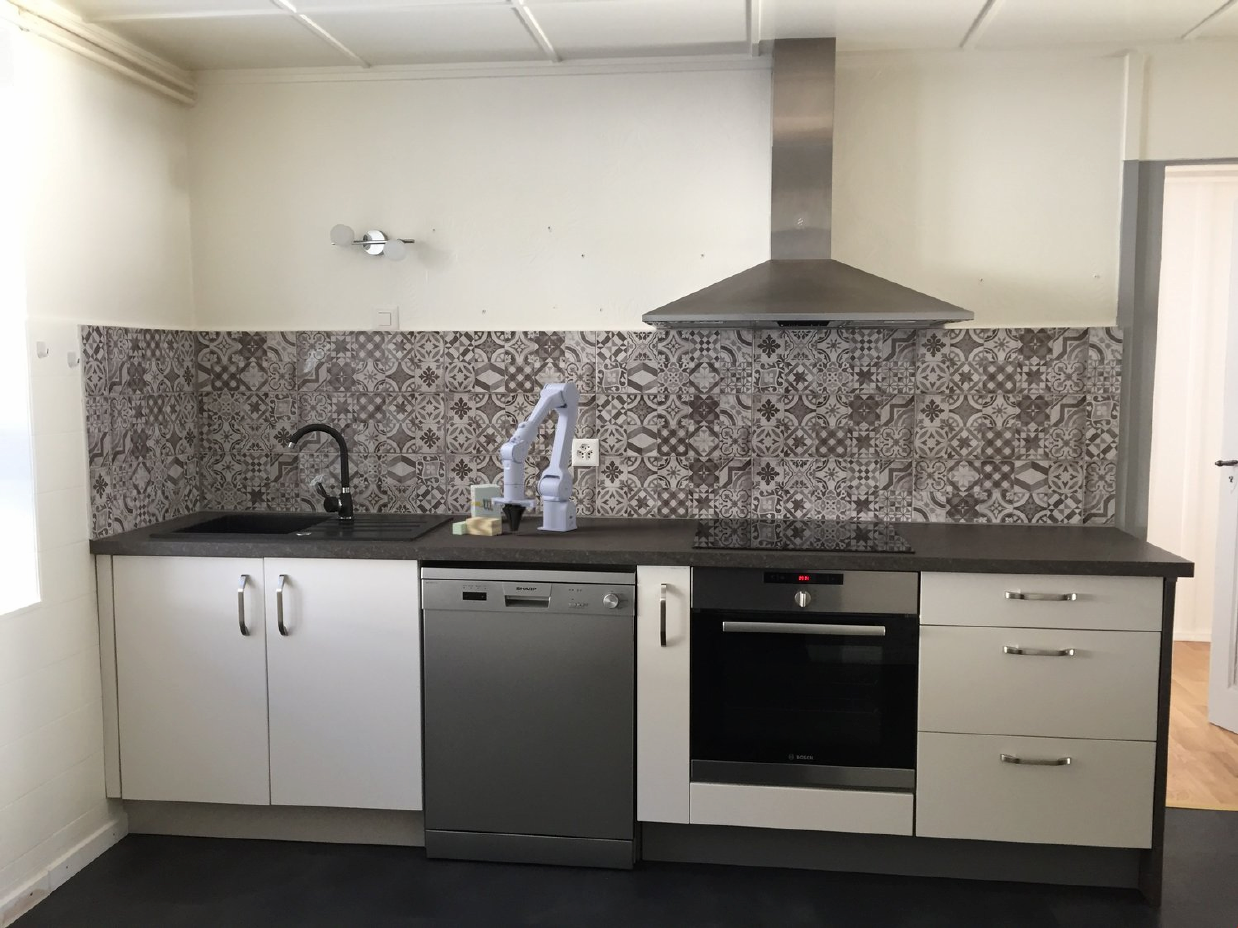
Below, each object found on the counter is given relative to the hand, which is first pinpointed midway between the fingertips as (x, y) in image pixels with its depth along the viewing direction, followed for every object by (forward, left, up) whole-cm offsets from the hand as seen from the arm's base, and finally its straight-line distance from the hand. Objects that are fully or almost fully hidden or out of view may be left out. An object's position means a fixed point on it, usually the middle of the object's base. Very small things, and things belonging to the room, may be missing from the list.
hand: (514, 530), depth 284 cm
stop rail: (+16, -1, -1) cm, 16 cm away
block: (+10, +1, -2) cm, 10 cm away
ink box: (+23, -18, -2) cm, 29 cm away
